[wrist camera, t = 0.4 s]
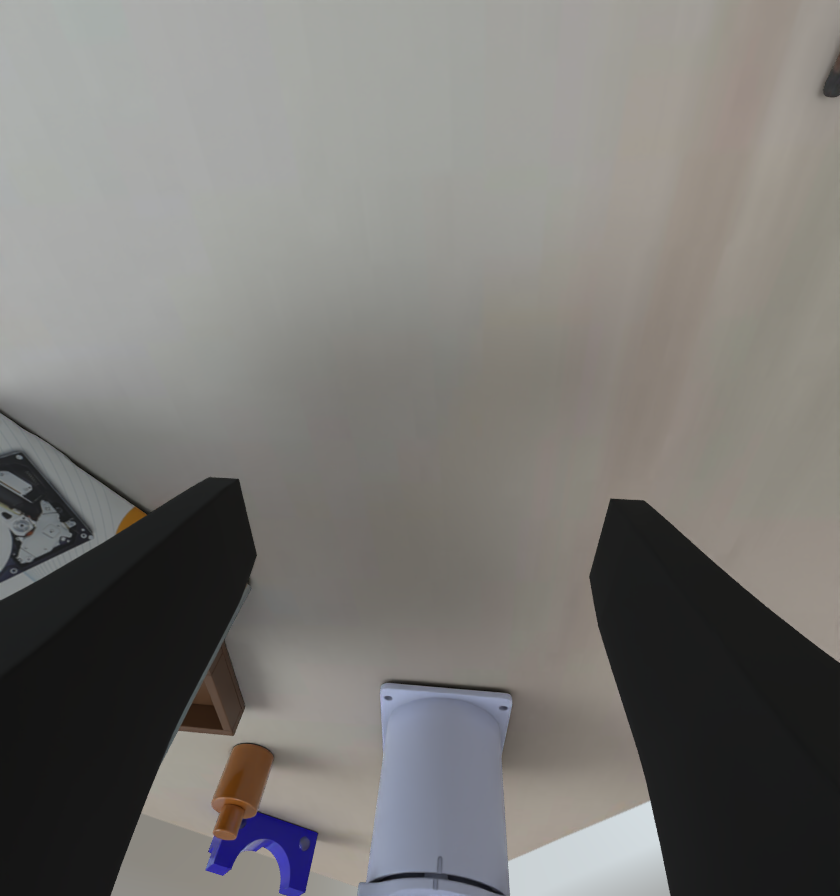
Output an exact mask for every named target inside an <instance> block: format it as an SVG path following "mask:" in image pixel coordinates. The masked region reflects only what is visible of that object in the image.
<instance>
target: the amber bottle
mask: <svg viewBox="0 0 840 896" xmlns="http://www.w3.org/2000/svg"><path fill="white" fill-rule="evenodd" d="M273 761H274V757H273V755H272V753H271V752H270V751H268V750H267V749H265V748H263V747H261V746H258V745H254V744H239V745H236V746H234V747H233V749H232V751H231V753H230V756H229V758H228V761H227V763H226V766H225V768H224V771H223V773H222V776H221V779H220V781H219V784H218V786H217V789H216V791H215V794H214V796H213V799H212V802H211V805H212V807H213V809H214V810H216V811H217V812H219V813H220V814H219V816H218V819H217V822H216V825H215V827H214V830H213V835H214V836H216V837H217V838H220V839H223V840H234V839H236V838H237V835H238V832H239V829H240V826H241V823H242V820H243V819H248V818H252V817H254V816H255V815H256V814H257V812H258V809H259V805H260V802H261V799H262V796H263V793H264V790H265V786H266V783H267V780H268V777H269V774H270V771H271V767H272V764H273Z"/></svg>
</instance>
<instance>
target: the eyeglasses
mask: <svg viewBox="0 0 840 896" xmlns="http://www.w3.org/2000/svg"><path fill="white" fill-rule="evenodd" d="M823 92H824V95H825V96H828V97H837V96H839V95H840V54H839V56H838V58H837V60H836V62H835V64H834V66H833V68H832V70H831V72H830V75H829V77H828V79H827V81H826V83H825V86H824V89H823Z"/></svg>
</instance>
